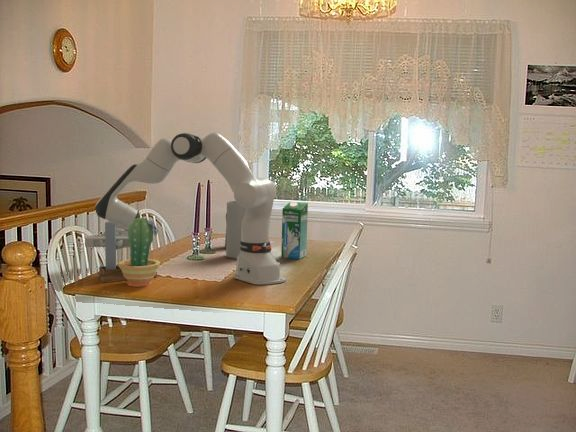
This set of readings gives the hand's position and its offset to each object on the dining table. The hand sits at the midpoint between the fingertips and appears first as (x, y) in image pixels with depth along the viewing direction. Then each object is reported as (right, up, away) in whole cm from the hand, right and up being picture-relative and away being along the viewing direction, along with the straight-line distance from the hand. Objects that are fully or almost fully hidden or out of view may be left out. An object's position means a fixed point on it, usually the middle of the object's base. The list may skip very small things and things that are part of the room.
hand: (110, 244), depth 252 cm
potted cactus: (+12, -15, -3) cm, 19 cm away
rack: (+5, -13, +6) cm, 15 cm away
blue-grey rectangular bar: (0, -9, +2) cm, 10 cm away
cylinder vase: (+45, -8, +53) cm, 70 cm away
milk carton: (+70, -8, +56) cm, 90 cm away
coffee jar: (+41, -5, +76) cm, 86 cm away
